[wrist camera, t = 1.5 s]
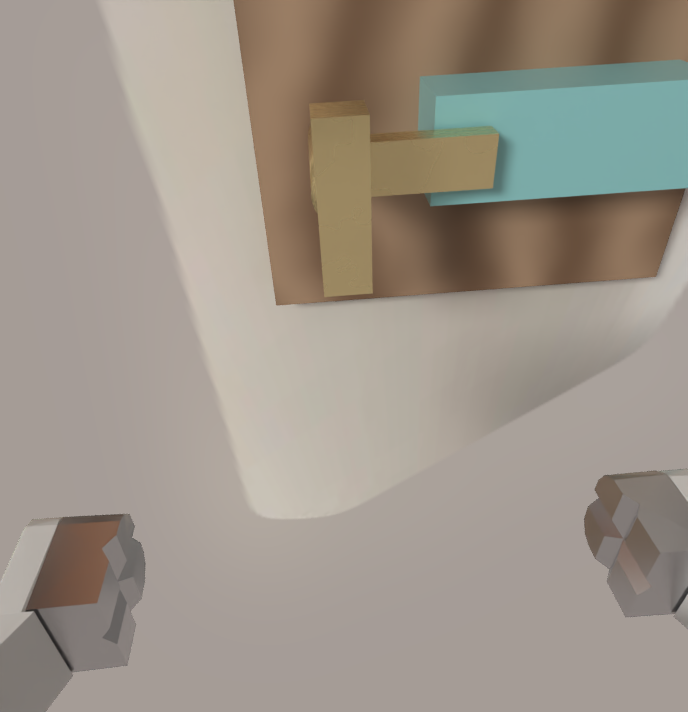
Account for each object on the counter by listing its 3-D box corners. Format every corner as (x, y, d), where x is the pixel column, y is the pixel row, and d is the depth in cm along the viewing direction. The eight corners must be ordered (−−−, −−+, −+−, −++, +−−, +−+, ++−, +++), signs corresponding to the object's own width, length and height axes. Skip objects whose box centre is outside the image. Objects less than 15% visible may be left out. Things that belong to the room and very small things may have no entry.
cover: (680, 59, 28) (729, 77, 25) (651, 160, 31) (691, 187, 28) (419, 76, 28) (435, 96, 24) (416, 177, 31) (430, 206, 27)
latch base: (765, -141, 25) (797, -146, 23) (640, 261, 37) (655, 276, 36) (222, -111, 24) (217, -114, 23) (277, 288, 37) (276, 305, 35)
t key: (473, 50, 27) (545, 103, 19) (461, 192, 31) (516, 282, 23) (301, 61, 27) (304, 119, 19) (313, 203, 31) (319, 297, 23)
